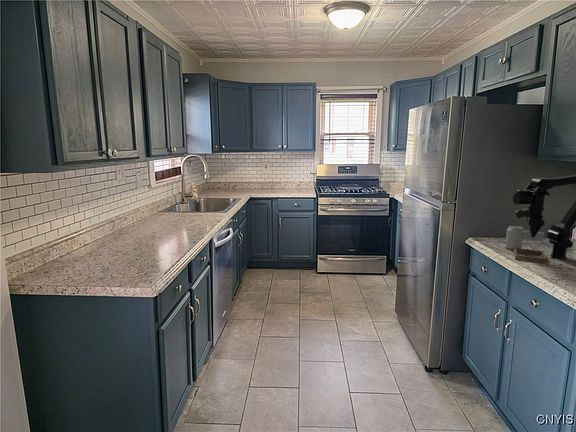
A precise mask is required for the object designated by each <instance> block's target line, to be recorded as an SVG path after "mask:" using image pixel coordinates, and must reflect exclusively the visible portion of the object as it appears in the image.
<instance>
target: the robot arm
mask: <svg viewBox="0 0 576 432" xmlns="http://www.w3.org/2000/svg"><path fill="white" fill-rule="evenodd" d="M567 185H574V186H575V187H576V173H575V174H571V175H565V176H558V177H551V178H550V177H549V178H548V177H533V178H531V180H530V182H529V183H528V185H527V186H526V187H525V188H524V189H523V190H522V189H521V190H520V189H517V190H516V192H515V193H514V194H513V196H512V202H513V203H514V204H515V205H528V206H527V208H522V209H518V210H517V209H516V210H515V211H514V214H515V217H516V219H521V218H524V217H525V219H526V221H527V225H528V226H529V231H531V237H535V236H536V234H537V233H538V232H540V230H541V229H542V227H543V226H545V223H546V222H545V220H544V219H543V217H544V215H543V214H544V210H545V207H544V205H545V199H546V196H551V193H550V192H549V190H551V189H552V188H555V187H562V186H567ZM575 223H576V200H574V202H573V203H572V205H571V207H570V208H569V210H568V211H567V212H566V214H565V215H564V216H563V218H562V219H561V221H560V222H559V223H558V224H557V225H556V224H552V225H551V226H550V228H549V229H548V230H547V232H548V233H547V236H546V237H547V240H548V241H549V242H548V243H550V244H552V250H551V253H549V256H550V258H552V259H558V260H559V259H560V260H567V261H568V257H567V252H568V249H569V248H572V247H573V245H574V242H572V241H571V239H570V237H571V232H572V231H571V230H572V229H571V228H573V226H574V225H575Z"/></svg>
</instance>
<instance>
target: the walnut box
mask: <svg viewBox="0 0 576 432" xmlns="http://www.w3.org/2000/svg"><path fill="white" fill-rule="evenodd" d="M518 253H519V254H528V255H535V256H541V257H534V256H526V255H518ZM513 254H514V259H515V261H516V260H517V261H523V262H524V261H525V262H534V263H540V264H541V263H542V264H547V263H548V258H547V255H546V253H545V252H544V251H543V250H537V249H526V248H521V249H519V248H514V250H513Z"/></svg>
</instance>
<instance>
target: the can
mask: <svg viewBox="0 0 576 432" xmlns="http://www.w3.org/2000/svg"><path fill="white" fill-rule="evenodd" d="M522 230H524V229H523V227H522V226H519V225H509V226H508V228H507V229H506V237H505V244H504V245H505V248H506V249H507V250H510V251H511V250H512V251H514V248H519V249H523V248H522V247H523V240H524V239H521V234H522Z"/></svg>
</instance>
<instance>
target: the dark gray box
mask: <svg viewBox="0 0 576 432" xmlns="http://www.w3.org/2000/svg"><path fill="white" fill-rule="evenodd" d="M521 239H523V240H528V241H534V242H535V241H536V242H544V239H545V232H544V231H538V233H537V234H536V236H535V237H531V231H530V229H529V230H526V229H523V230H522V234H521Z"/></svg>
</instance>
